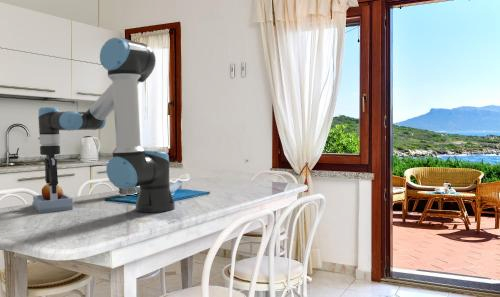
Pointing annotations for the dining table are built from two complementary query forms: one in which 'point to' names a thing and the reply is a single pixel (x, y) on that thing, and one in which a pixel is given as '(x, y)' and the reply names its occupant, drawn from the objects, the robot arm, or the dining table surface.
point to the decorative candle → (127, 191)
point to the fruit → (47, 192)
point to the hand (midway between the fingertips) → (52, 199)
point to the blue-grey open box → (52, 204)
